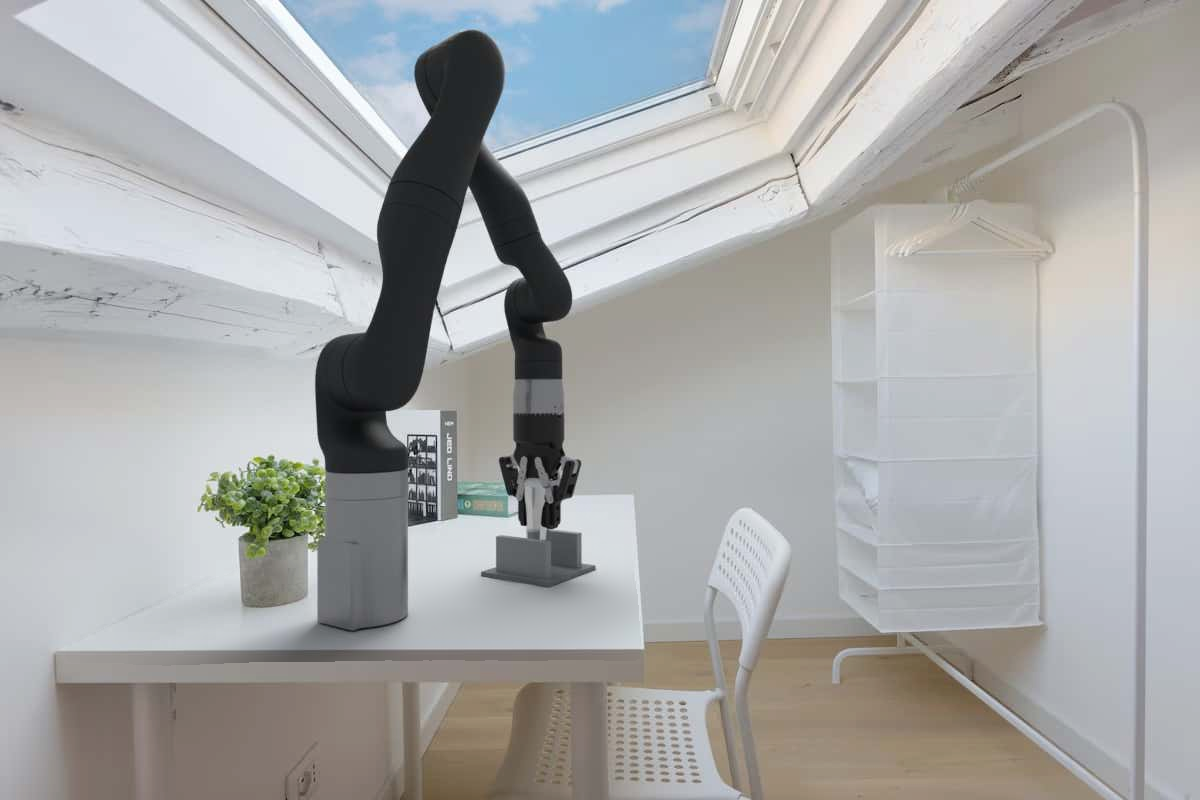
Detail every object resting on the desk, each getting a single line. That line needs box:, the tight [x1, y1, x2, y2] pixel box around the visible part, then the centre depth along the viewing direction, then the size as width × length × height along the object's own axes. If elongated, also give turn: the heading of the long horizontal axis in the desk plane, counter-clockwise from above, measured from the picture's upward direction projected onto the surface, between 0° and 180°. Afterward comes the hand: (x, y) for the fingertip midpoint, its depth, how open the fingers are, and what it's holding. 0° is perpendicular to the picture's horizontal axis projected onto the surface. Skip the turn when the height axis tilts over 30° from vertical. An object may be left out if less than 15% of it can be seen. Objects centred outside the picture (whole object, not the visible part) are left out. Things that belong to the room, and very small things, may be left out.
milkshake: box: [524, 470, 562, 540], centre depth 105 cm, size 4×5×10 cm
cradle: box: [480, 529, 597, 588], centre depth 105 cm, size 12×12×6 cm
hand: (539, 526), depth 105 cm, fingers closed on milkshake, 4 cm apart
